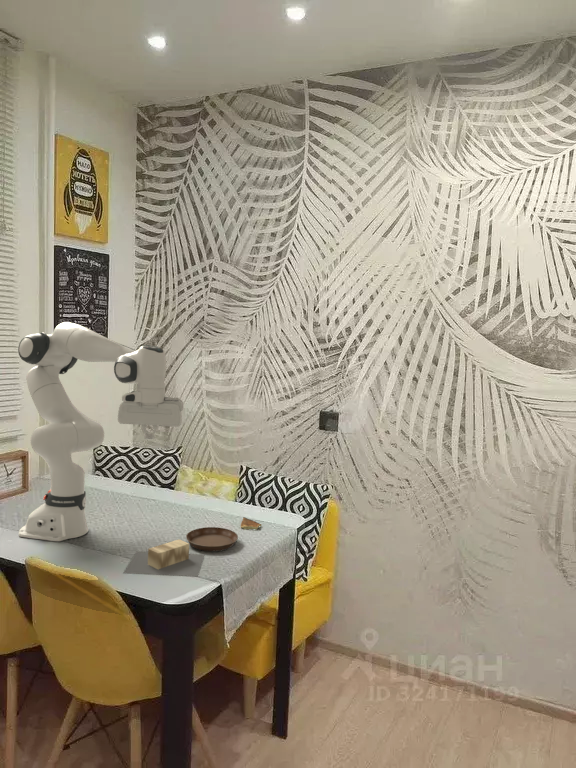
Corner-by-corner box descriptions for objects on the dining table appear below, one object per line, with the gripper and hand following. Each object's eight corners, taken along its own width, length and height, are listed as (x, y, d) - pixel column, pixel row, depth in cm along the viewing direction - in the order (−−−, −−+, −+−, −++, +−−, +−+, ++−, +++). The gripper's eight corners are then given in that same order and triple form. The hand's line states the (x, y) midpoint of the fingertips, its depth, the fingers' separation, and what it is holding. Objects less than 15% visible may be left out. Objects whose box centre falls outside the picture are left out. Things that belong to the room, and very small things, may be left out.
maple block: (158, 553, 180) (189, 543, 189) (148, 548, 183) (179, 539, 193) (158, 569, 181) (188, 558, 190) (147, 564, 184) (178, 554, 193)
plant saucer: (215, 558, 195) (215, 549, 194) (174, 545, 204) (175, 536, 204) (247, 543, 210) (248, 535, 209) (208, 531, 219) (208, 523, 219)
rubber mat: (122, 576, 177) (122, 573, 177) (136, 554, 194) (136, 551, 194) (197, 579, 177) (197, 576, 177) (204, 557, 194) (204, 554, 194)
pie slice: (243, 520, 234) (243, 516, 234) (263, 522, 233) (263, 517, 233) (239, 530, 223) (239, 525, 223) (260, 531, 223) (260, 527, 222)
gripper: (184, 396, 196) (183, 438, 198) (122, 393, 196) (120, 435, 197) (181, 399, 190) (180, 442, 192) (116, 395, 190) (115, 438, 191)
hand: (149, 438), depth 195 cm, fingers closed
